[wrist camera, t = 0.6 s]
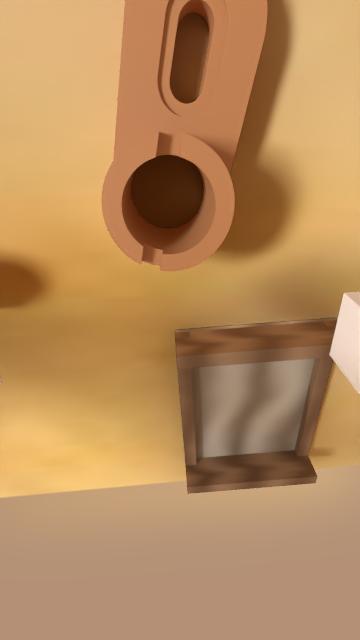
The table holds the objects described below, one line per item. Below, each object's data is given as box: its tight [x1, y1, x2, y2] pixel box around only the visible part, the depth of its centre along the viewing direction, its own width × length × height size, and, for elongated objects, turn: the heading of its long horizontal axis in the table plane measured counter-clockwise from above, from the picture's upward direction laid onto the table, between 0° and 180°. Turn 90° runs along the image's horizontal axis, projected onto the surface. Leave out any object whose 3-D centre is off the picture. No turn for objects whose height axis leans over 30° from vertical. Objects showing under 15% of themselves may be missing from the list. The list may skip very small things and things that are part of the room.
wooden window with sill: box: [175, 318, 337, 494], centre depth 36 cm, size 17×23×4 cm
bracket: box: [102, 0, 267, 271], centre depth 19 cm, size 18×8×7 cm, turn 169°
